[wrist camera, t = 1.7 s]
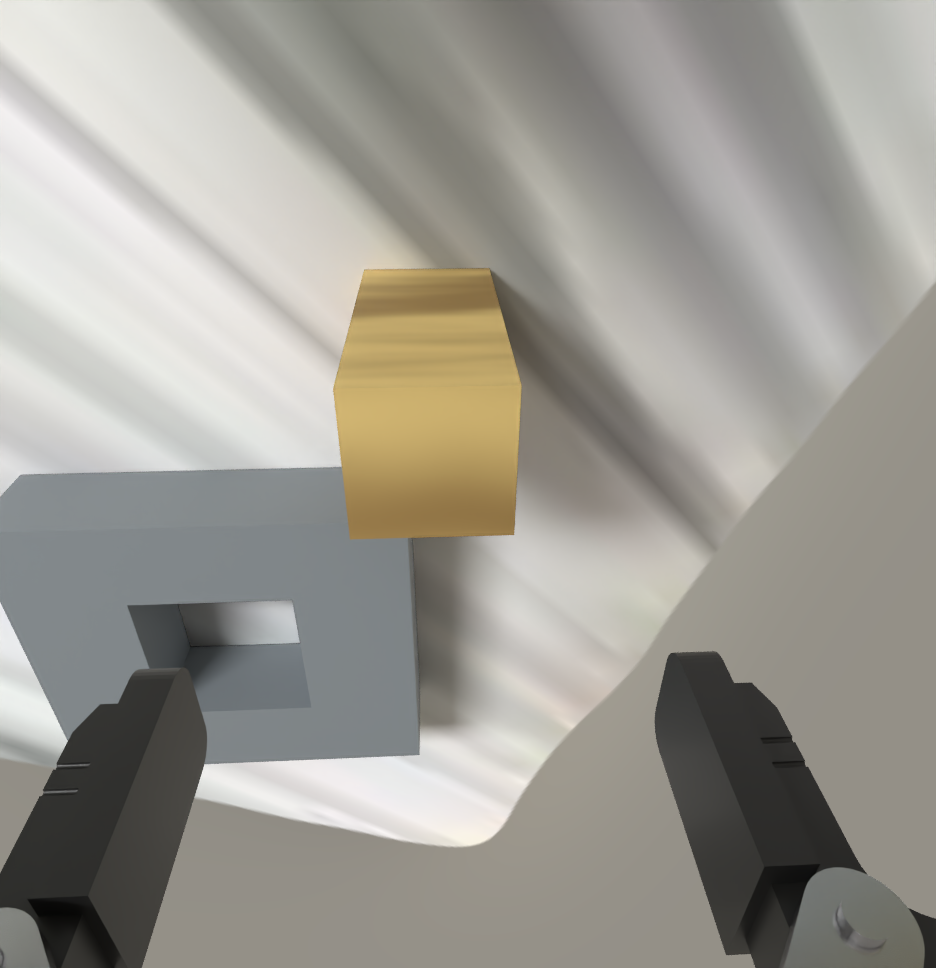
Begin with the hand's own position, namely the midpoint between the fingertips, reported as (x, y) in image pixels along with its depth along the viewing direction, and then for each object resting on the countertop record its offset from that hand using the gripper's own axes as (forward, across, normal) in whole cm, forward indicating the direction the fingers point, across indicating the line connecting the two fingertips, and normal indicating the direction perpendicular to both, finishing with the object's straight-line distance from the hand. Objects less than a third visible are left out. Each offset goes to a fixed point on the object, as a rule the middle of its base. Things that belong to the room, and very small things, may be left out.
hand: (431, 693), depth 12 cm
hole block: (+17, +9, +13) cm, 23 cm away
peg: (+17, 0, 0) cm, 17 cm away
